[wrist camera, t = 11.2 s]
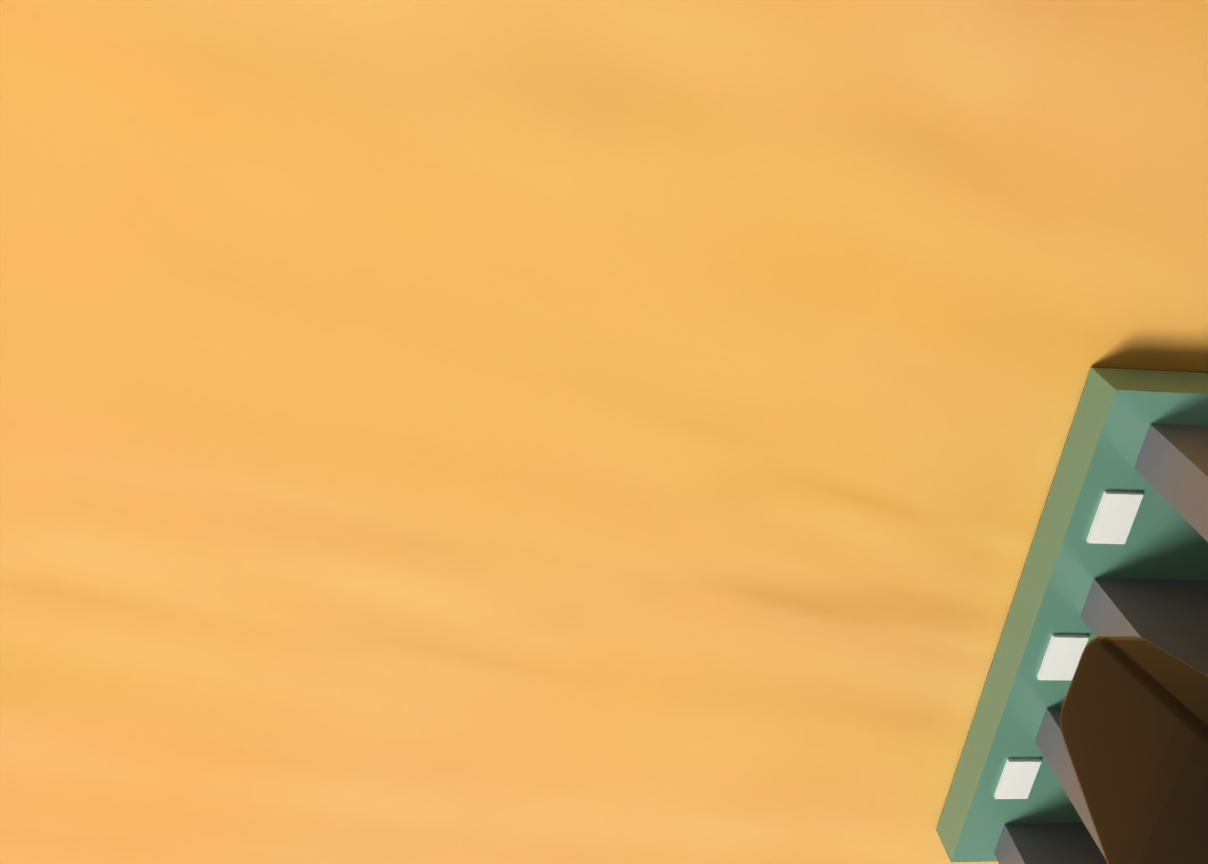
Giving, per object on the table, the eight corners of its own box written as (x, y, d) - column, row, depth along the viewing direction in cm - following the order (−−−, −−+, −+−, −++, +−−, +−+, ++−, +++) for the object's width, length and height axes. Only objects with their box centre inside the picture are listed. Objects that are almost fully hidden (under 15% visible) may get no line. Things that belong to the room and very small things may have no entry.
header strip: (1091, 367, 22) (1221, 487, 18) (1406, 382, 23) (1596, 498, 19) (936, 829, 28) (1009, 992, 25) (1190, 826, 29) (1300, 983, 25)
